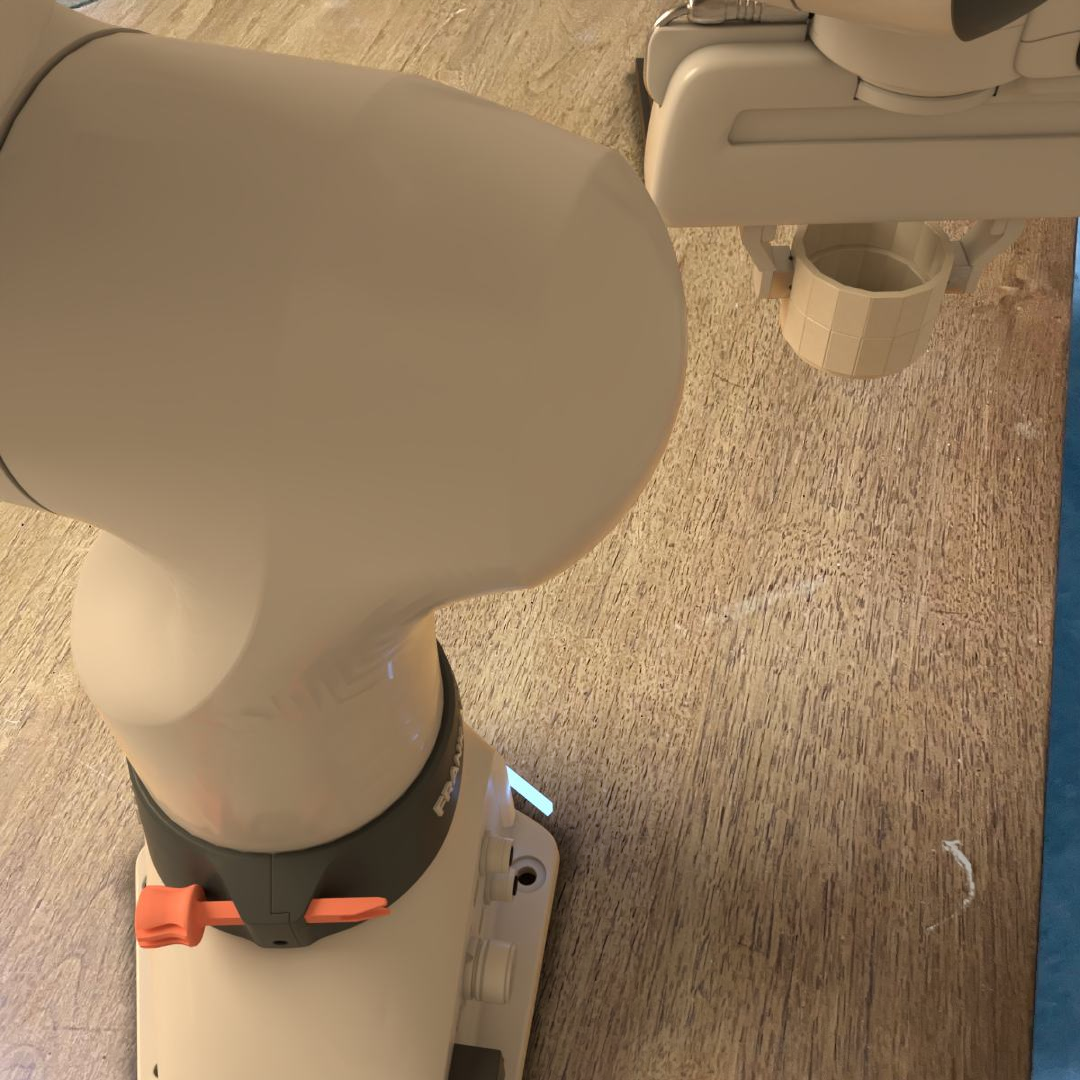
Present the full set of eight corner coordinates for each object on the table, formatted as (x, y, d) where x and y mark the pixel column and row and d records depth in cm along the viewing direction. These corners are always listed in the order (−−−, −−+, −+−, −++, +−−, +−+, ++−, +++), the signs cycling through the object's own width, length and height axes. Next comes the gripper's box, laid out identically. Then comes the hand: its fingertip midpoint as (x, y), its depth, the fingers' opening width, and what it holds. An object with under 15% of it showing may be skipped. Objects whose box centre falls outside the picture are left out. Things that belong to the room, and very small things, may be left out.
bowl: (941, 383, 54) (970, 295, 50) (789, 386, 54) (806, 298, 50) (910, 285, 58) (935, 197, 54) (769, 288, 58) (784, 200, 54)
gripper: (654, 38, 42) (636, 341, 52) (1248, 22, 42) (1108, 328, 52) (641, -48, 46) (627, 250, 56) (1183, -63, 45) (1065, 238, 56)
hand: (862, 288), depth 54 cm, fingers closed on bowl, 7 cm apart
